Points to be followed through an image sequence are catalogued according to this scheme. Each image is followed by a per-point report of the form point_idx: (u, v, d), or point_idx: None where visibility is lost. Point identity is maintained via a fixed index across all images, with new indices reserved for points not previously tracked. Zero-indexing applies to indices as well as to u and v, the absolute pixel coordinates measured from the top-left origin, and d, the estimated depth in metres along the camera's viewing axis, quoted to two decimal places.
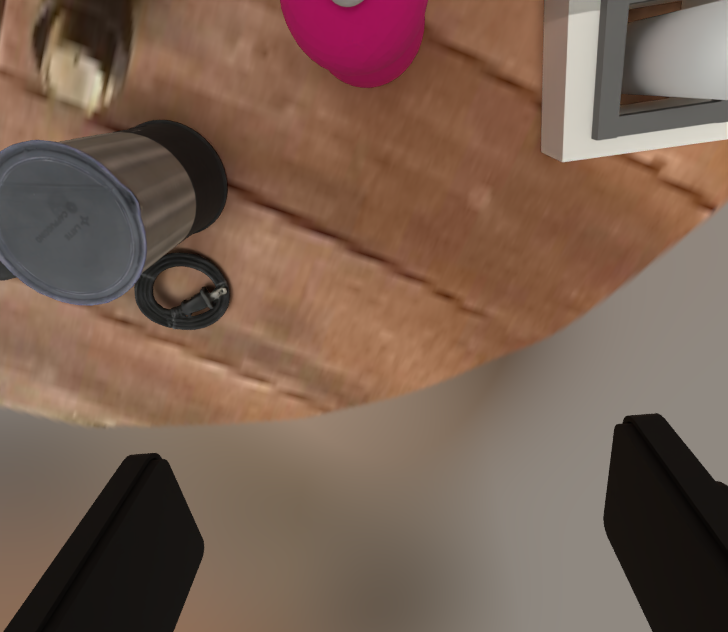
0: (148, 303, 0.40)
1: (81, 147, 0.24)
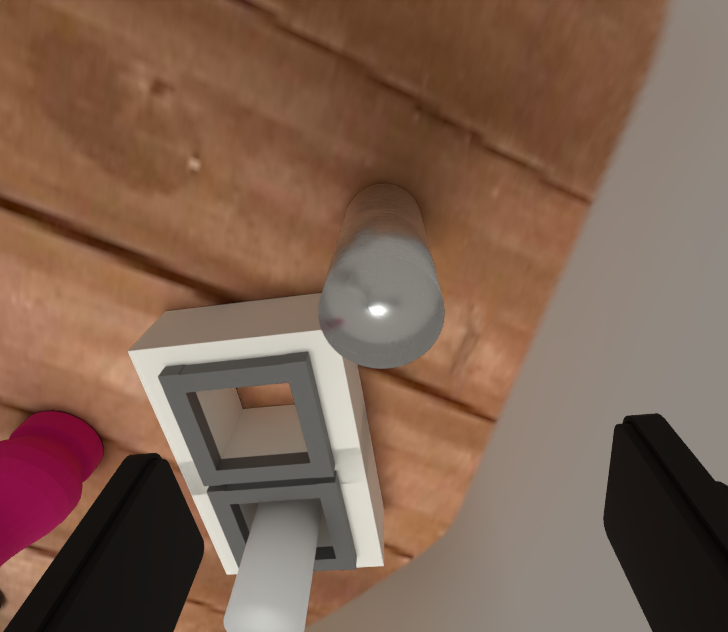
0: None
1: None
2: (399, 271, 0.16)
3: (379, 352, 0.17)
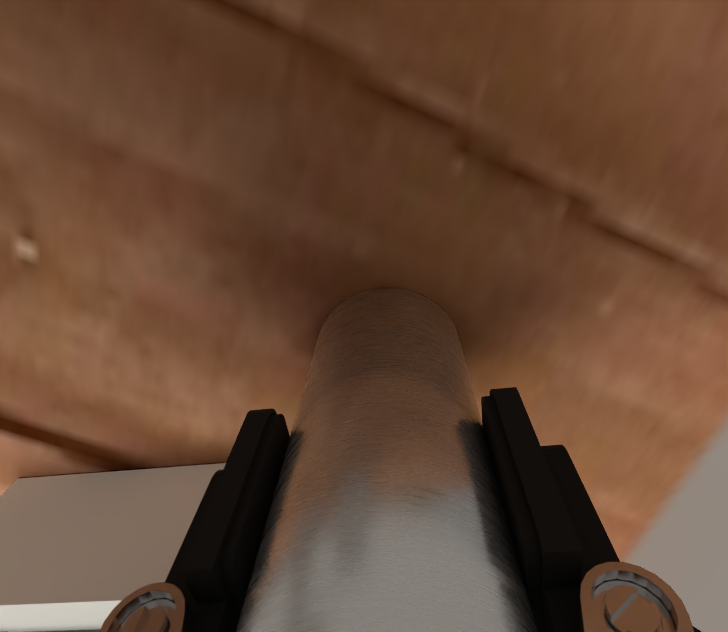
0: None
1: None
2: None
3: None
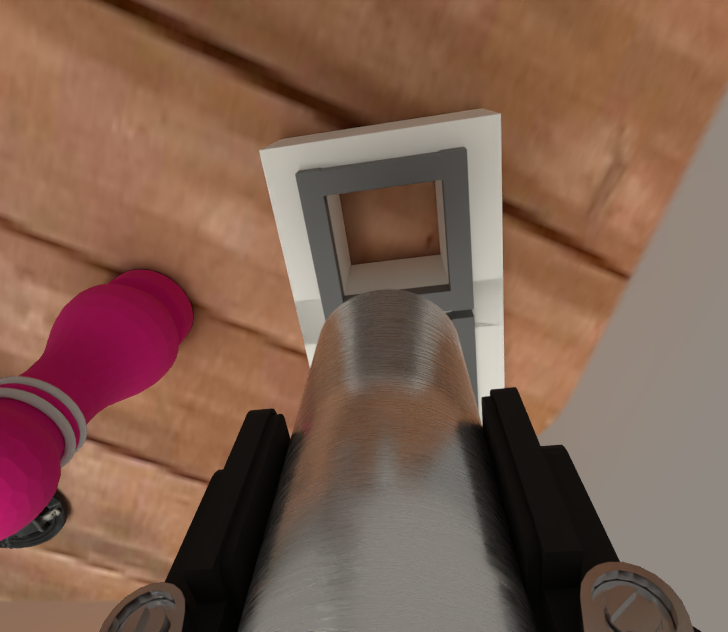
0: None
1: None
2: None
3: None
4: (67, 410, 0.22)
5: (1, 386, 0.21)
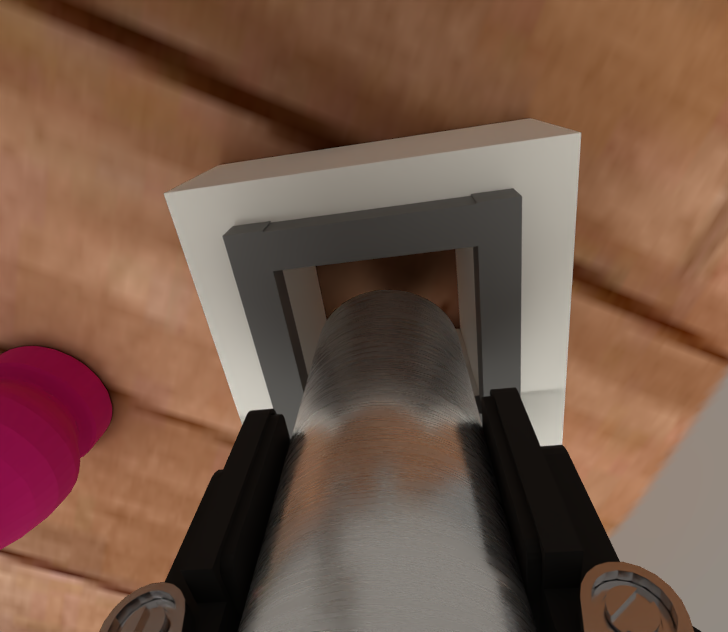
0: None
1: None
2: None
3: None
4: None
5: None
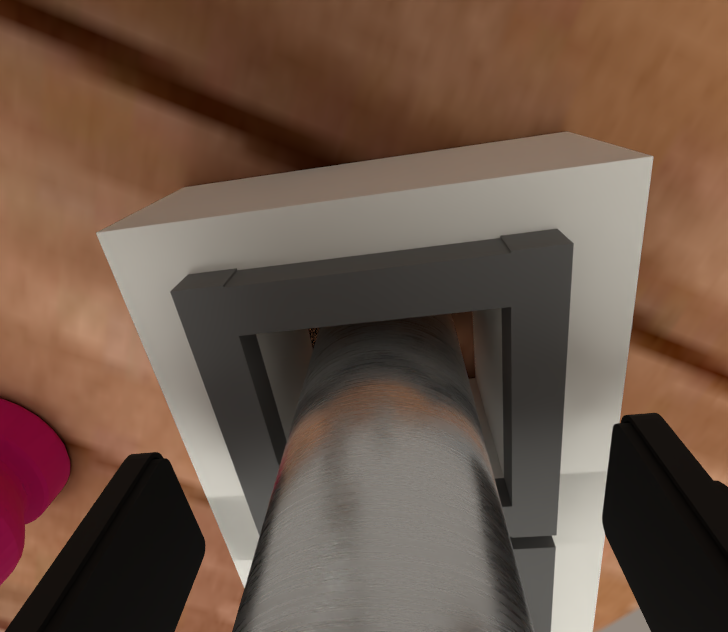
0: None
1: None
2: None
3: None
4: None
5: None
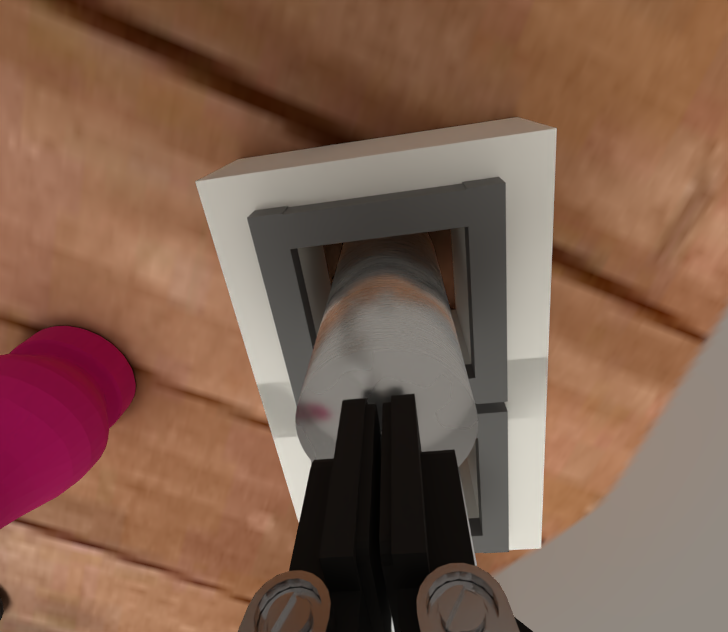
0: None
1: None
2: (413, 370, 0.11)
3: None
4: None
5: None
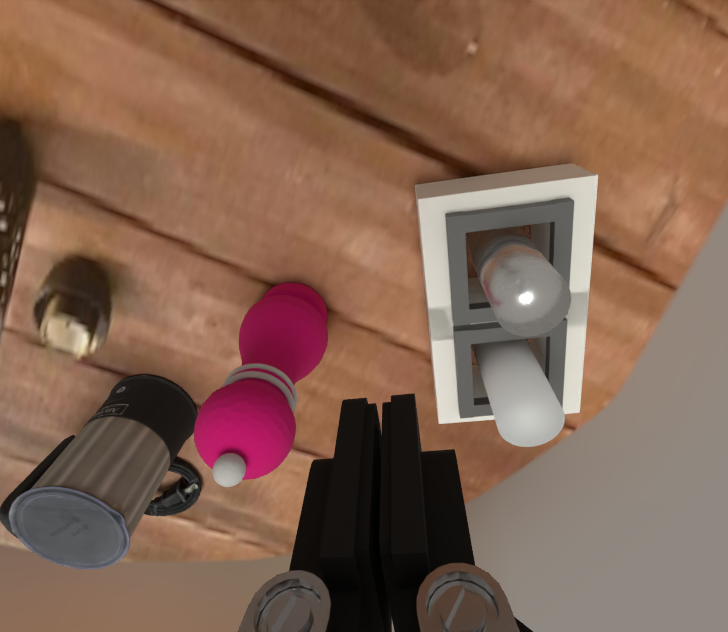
0: None
1: (83, 479, 0.35)
2: (547, 277, 0.27)
3: (527, 326, 0.28)
4: (290, 387, 0.30)
5: (248, 370, 0.30)
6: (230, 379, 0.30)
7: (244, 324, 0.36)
